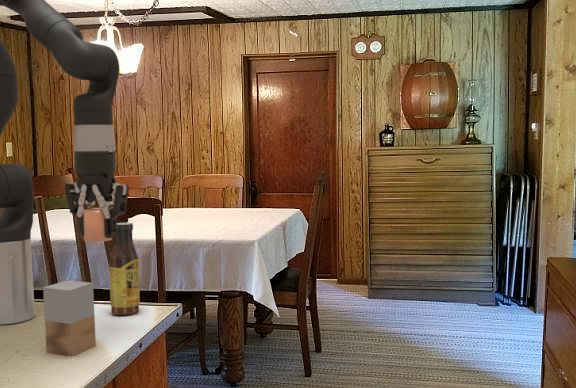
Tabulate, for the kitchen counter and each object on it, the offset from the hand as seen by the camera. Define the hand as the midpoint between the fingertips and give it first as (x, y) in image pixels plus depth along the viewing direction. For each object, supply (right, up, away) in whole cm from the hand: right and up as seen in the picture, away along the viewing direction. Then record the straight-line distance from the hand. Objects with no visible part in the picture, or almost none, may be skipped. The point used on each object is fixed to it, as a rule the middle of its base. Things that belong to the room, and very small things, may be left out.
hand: (98, 236), depth 117 cm
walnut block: (-3, -20, -7) cm, 22 cm away
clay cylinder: (0, -1, 0) cm, 1 cm away
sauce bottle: (+1, -18, +17) cm, 25 cm away
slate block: (-3, -14, -8) cm, 16 cm away
